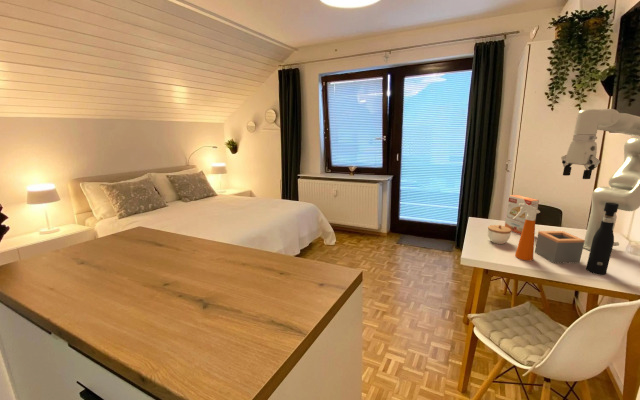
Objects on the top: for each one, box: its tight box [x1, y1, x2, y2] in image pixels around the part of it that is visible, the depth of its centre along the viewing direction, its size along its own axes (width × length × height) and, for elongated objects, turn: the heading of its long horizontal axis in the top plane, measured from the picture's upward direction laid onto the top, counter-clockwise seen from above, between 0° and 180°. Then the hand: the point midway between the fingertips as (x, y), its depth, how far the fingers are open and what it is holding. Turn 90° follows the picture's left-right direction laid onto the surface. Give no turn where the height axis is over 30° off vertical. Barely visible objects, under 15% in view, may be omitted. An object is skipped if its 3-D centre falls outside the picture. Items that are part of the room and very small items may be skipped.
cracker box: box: [504, 194, 540, 235], centre depth 172 cm, size 14×6×21 cm, turn 17°
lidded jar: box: [487, 224, 512, 245], centre depth 159 cm, size 11×11×9 cm
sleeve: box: [534, 230, 585, 264], centre depth 139 cm, size 12×12×11 cm
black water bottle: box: [585, 203, 619, 276], centre depth 124 cm, size 6×6×30 cm
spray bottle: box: [513, 203, 541, 261], centre depth 138 cm, size 7×11×26 cm, turn 77°
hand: (575, 177), depth 135 cm, fingers open, 9 cm apart
